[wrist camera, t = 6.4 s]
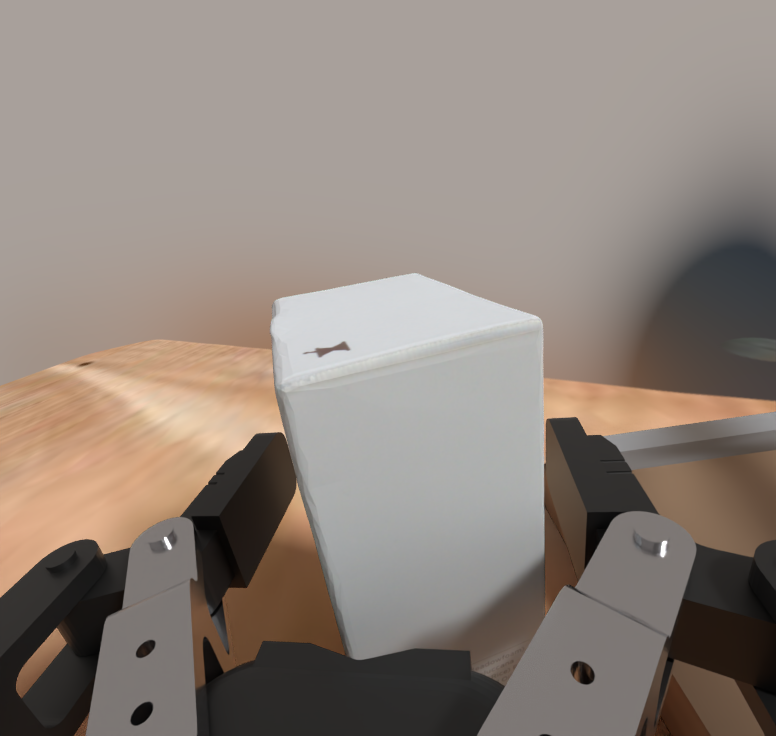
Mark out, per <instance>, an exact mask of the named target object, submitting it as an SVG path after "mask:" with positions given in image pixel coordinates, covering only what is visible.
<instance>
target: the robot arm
mask: <svg viewBox="0 0 776 736" xmlns="http://www.w3.org/2000/svg"><path fill="white" fill-rule="evenodd" d="M546 475H547V482H548V487H549V491H550V494H551V497H552V500H553V504H554V507H555V510H556V513H557V516H558V519H559V522H560V526H561V529H562V532H563V535H564V538H565V541H566V545H567V548H568V551H569V554H570V557H571V560H572V564H573V567H574V570H575V573H576V576H577V579H578V583H577V585H576V586H575V587H572V586H571V585H569V584H568V585H565V586H564V587H563V588H562V589H561V591H560V592H559V594H558V595H557V597H556V599H555V601H554V602H553V604H552V606H551V608H550V609H549V611H548V613H547V614H546V616H545V618H544V620H543V621H542V623H541V625H540V627H539V628H538V630H537V632H536V634H535V635H534V637H533V639H532V641H531V642H530V644H529V646H528V647H527V649H526V651H525V653H524V654H523V656H522V658H521V660H520V661H519V663H518V665H517V667H516V668H515V670H514V672H513V674H512V675H511V677H510V679H509V681H508V682H507V684H506V686H504V685H502V684H501V683H499V682H498V681H496V680H494V679H492V678H490V677H488V676H486V675H483V674H481V673H478V672H475V671H472V665H471V656H470V651H463V650H442V649H421V648H414V649H410V650H405V651H401V652H396V653H392V654H387V655H383V656H378V657H374V658H369V659H364V660H356V659H352V658H350V657H347V656H344V655H341V654H339V653H336V652H333V651H330V650H327V649H325V648H322V647H319V646H316V645H314V644H311V643H294V642H273V641H263V642H262V645H261V647H260V650H259V652H258V654H257V657H256V659H255V660H254V661H250V662H247V663H245V664H242V665H239V666H237V667H236V662H235V655H234V649H233V642H232V635H231V629H230V622H229V615H228V609H227V604H226V601H225V598H224V595H225V593H226V591H227V589H228V588H247V587H248V585H249V583H250V581H251V579H252V577H253V575H254V573H255V571H256V569H257V567H258V565H259V563H260V561H261V559H262V557H263V555H264V553H265V551H266V549H267V547H268V545H269V543H270V541H271V539H272V538H273V536H274V534H275V532H276V530H277V528H278V526H279V524H280V522H281V520H282V518H283V516H284V514H285V512H286V510H287V508H288V506H289V504H290V502H291V500H292V498H293V496H294V494H295V490H296V474H295V470H294V466H293V463H292V459H291V455H290V452H289V448H288V445H287V441H286V438H285V436H284V435H283V433H281V432H277V433H259V434H256V435H255V436H254V437H253V438H252V439H251V441H250V442H249V443H248V444H247V446H246V447H245V448H244V449H243V450H241V451H239V452H238V453H236V454H235V455H234V456H232V457H231V458H229V459H228V460H227V461H225V463H224V464H223V465H222V466H221V468H220V469H219V470H218V471H217V472H216V475H214V476H213V477H212V479H211V480H210V481H209V482H208V485H206V486H205V487H204V488H203V490H202V491H201V492H200V493H199V494H198V496H197V497H196V498H195V499H194V501H193V502H192V503H191V504H190V505H189V507H188V508H187V509H186V510H185V512H184V513H183V514H182V515H181V516H180V517H176V518H171V519H167V520H164V521H162V522H159V523H157V524H155V525H153V526H152V527H150V528H149V529H147V530H146V531H144V532H143V533H142V534H141V535H140V536H139V537H138V538H137V539H136V540H135V541H134V543H133V544H132V546H131V548H127V549H124V550H120V551H116V552H112V553H108V554H104V555H103V553H102V551H101V550H100V548H99V546H98V544H97V543H96V542H95V541H94V540H89V539H85V540H79V541H75V542H72V543H69V544H67V545H64V546H62V547H60V548H58V549H57V550H55V551H53V552H52V553H50V554H49V555H47V556H46V557H44V558H43V559H42V560H41V561H40V562H38V563H37V564H36V565H35V566H34V567H33V568H32V569H31V570H30V571H29V572H28V573H27V574H26V575H24V576H23V577H22V578H21V579H20V580H19V581H18V582H17V583H16V584H15V585H14V586H13V587H12V588H10V589H9V590H8V591H7V592H6V593H5V594H4V595H3V596H2V597H1V598H0V736H74V734H75V733H76V731H77V730H78V728H79V727H80V725H81V724H82V722H83V721H84V719H85V718H86V716H87V715H88V713H89V712H90V713H89V719H88V725H87V731H86V736H655V732H656V729H657V725H658V722H659V718H660V714H661V711H662V707H663V704H664V700H665V697H666V693H667V690H668V686H669V683H670V679H671V676H672V672H673V669H674V665H675V662H676V660H678V661H681V662H684V663H687V664H690V665H693V666H696V667H699V668H702V669H705V670H708V671H711V672H714V673H717V674H720V675H723V676H726V677H729V678H732V679H734V680H735V682H736V684H737V686H738V687H739V689H740V691H741V693H742V695H743V696H744V698H745V700H746V702H747V704H748V706H749V707H750V709H751V711H752V713H753V715H754V716H755V718H756V720H757V722H758V724H759V726H760V727H761V729H762V731H763V733H764V735H765V736H776V540H771V541H766V542H764V543H762V544H760V545H759V546H758V547H757V548H756V550H755V553H754V557H749V556H744V555H740V554H735V553H730V552H726V551H721V550H717V549H713V548H709V547H706V546H703V545H700V544H697V543H695V542H694V540H693V538H692V537H691V535H690V534H689V533H688V532H687V531H686V530H685V529H684V528H683V527H681V526H680V525H679V524H677V523H676V522H674V521H672V520H670V519H668V518H666V517H663V516H661V515H659V513H658V512H657V510H656V508H655V507H654V505H653V504H652V502H651V500H650V499H649V497H648V496H647V494H646V492H645V491H644V489H643V488H642V486H641V484H640V483H639V481H638V480H637V478H636V476H635V475H634V474H632V470H631V468H630V467H629V465H628V464H627V462H625V459H624V457H623V456H622V454H621V452H620V451H619V449H618V448H617V446H616V445H614V444H613V443H611V442H610V441H609V440H607V439H606V438H604V437H603V436H601V435H588V436H587V435H586V433H585V431H584V429H583V427H582V426H581V424H580V422H579V420H578V418H576V417H571V418H553V419H547V421H546ZM56 627H57V628H58V630H59V631H60V633H61V634H62V636H63V637H64V639H65V640H66V642H67V644H66V646H65V647H64V648H63V649H62V650H61V652H60V653H59V654H58V655H57V657H56V658H55V659H54V660H53V661H52V663H51V664H50V665H49V666H48V667H47V669H46V670H45V671H44V672H43V674H42V675H41V676H40V677H39V678H38V680H37V681H36V682H35V683H34V684H33V686H32V687H31V688H30V689H29V691H28V692H27V693H26V694H25V695H24V697H23V698H22V699H21V698H20V696H19V695H18V694H17V691H16V681H17V677H18V674H19V672H20V670H21V669H22V667H23V665H24V664H25V663H26V662H27V660H28V659H29V658H30V657H31V656H32V655H33V654H34V652H35V651H36V650H37V649H38V648H39V647H40V646H41V644H42V643H43V642H44V641H45V640H46V639H47V638H48V636H49V635H50V634H51V633H52V632H53V631H54V630H55V628H56Z"/></svg>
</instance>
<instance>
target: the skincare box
mask: <svg viewBox="0 0 776 736" xmlns="http://www.w3.org/2000/svg"><path fill="white" fill-rule="evenodd" d="M270 334H271V338H272V355H273V373H274V386H275V393H276V398H277V402H278V406H279V410H280V414H281V419H282V423H283V427H284V430H285V434H286V438H287V442H288V447H289V451H290V455H291V459H292V462H293V466H294V470H295V474H296V478H297V483H298V486H299V490H300V493H301V497H302V500H303V503H304V507H305V510H306V514H307V517H308V520H309V524H310V527H311V530H312V534H313V537H314V540H315V544H316V548H317V552H318V556H319V559H320V563H321V567H322V570H323V574H324V578H325V581H326V585H327V589H328V593H329V596H330V600H331V603H332V606H333V610H334V614H335V618H336V622H337V625H338V629H339V632H340V636H341V640H342V643H343V647H344V651H345V654H346V656H347V657H350V658H352V659H356V660H364V659H369V658H374V657H378V656H383V655H387V654H392V653H396V652H401V651H405V650H410V649H414V648H421V649H442V650H463V651H470V656H471V665H472V671H475V672H478V673H481V674H483V675H486V676H488V677H490V678H492V679H494V680H496V681H498V682H499V683H501V684H502V685H504V686H506V684H507V682H508V681H509V679H510V677H511V675H512V674H513V672H514V670H515V668H516V667H517V665H518V663H519V661H520V660H521V658H522V656H523V654H524V653H525V651H526V649H527V647H528V646H529V644H530V642H531V641H532V639H533V637H534V635H535V634H536V632H537V630H538V628H539V627H540V625H541V623H542V621H543V620H544V618H545V553H544V543H545V537H544V402H543V323H542V321H541V319H540V318H539V317H537V316H535V315H531V314H528V313H525V312H522V311H519V310H516V309H513V308H510V307H507V306H504V305H501V304H498V303H495V302H492V301H489V300H486V299H483V298H480V297H478V296H475V295H472V294H470V293H467V292H465V291H462V290H460V289H457V288H455V287H452V286H449V285H446V284H444V283H441V282H439V281H435V280H433V279H430V278H427V277H425V276H422V275H420V274H418V273H413V274H408V275H402V276H397V277H391V278H385V279H380V280H375V281H370V282H365V283H360V284H355V285H349V286H344V287H339V288H334V289H329V290H323V291H318V292H312V293H307V294H301V295H295V296H290V297H284V298H280V299H277V300H275V301H274V303H273V305H272V321H271V325H270Z"/></svg>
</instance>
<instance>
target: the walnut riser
mask: <svg viewBox="0 0 776 736" xmlns="http://www.w3.org/2000/svg"><path fill="white" fill-rule="evenodd" d="M603 437H604V438H606V439H607V440H609V441H610V442H611V443H613V444H614V445H616V446H617V448H618V449H619V451H620V452H621V454H622V456H623V457H624V459H625V462H627V464H628V465H629V467H630V468H631V470H632V474H634V475H635V476H636V478H637V480H638V481H639V483H640V484H641V486H642V488H643V489H644V491H645V492H646V494H647V496H648V497H649V499H650V500H651V502H652V504H653V505H654V507H655V508H656V510H657V512H658V513H659V515H661V516H663V517H666V518H668V519H670V520H672V521H674V522H676V523H677V524H679V525H680V526H681V527H683V528H684V529H685V530H686V531H687V532H688V533H689V534H690V535H691V537H692V538H693V540H694V542H695V543H697V544H700V545H703V546H706V547H709V548H713V549H717V550H721V551H726V552H730V553H735V554H740V555H744V556H749V557H754V553H755V550H756V548H757V547H758V546H759V545H760V544H762V543H764V542H766V541H771V540H776V412H771V413H764V414H757V415H750V416H743V417H736V418H729V419H722V420H714V421H707V422H700V423H693V424H686V425H679V426H672V427H665V428H658V429H651V430H644V431H637V432H630V433H623V434H616V435H609V436H603ZM544 505H545V507H546V509H547V511H548V513H549V514H550V516H551V518H552V520H553V522H554V524H555V525H556V527H557V529H558V531H559V533H560V534H561V536H562V538H563V540H564V542H565V543H566V541H565V538H564V535H563V532H562V529H561V526H560V522H559V519H558V516H557V513H556V510H555V507H554V504H553V500H552V497H551V494H550V491H549V487H548V482H547V475H546V463H545V464H544ZM660 715H661V717H662V719H663V721H664V723H665V724H666V726H667V728H668V730H669V732H670V733H671V735H672V736H765V735H764V733H763V731H762V729H761V727H760V726H759V724H758V722H757V720H756V718H755V716H754V715H753V713H752V711H751V709H750V707H749V706H748V704H747V702H746V700H745V698H744V696H743V695H742V693H741V691H740V689H739V687H738V686H737V684H736V682H735V680H734V679H732V678H729V677H726V676H723V675H720V674H717V673H714V672H711V671H708V670H705V669H702V668H699V667H696V666H693V665H690V664H687V663H684V662H681V661H678V660H676V662H675V665H674V669H673V672H672V676H671V679H670V683H669V686H668V690H667V693H666V697H665V700H664V704H663V707H662V711H661V714H660Z"/></svg>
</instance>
